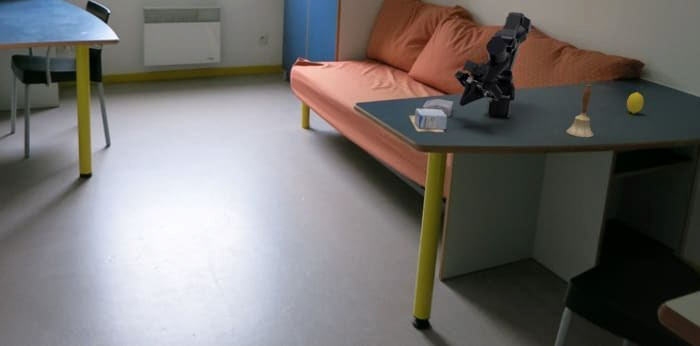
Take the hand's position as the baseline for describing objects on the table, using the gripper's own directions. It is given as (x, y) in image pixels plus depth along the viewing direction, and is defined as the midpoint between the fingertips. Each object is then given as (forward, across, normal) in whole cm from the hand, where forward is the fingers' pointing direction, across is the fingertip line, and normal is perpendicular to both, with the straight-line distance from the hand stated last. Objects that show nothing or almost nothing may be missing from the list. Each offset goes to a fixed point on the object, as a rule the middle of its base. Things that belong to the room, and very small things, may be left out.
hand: (460, 104), depth 229 cm
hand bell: (-19, +18, +30) cm, 40 cm away
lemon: (-47, +4, +58) cm, 75 cm away
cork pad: (+11, -4, -2) cm, 12 cm away
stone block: (+3, -17, +8) cm, 19 cm away
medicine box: (+7, 0, -1) cm, 7 cm away
